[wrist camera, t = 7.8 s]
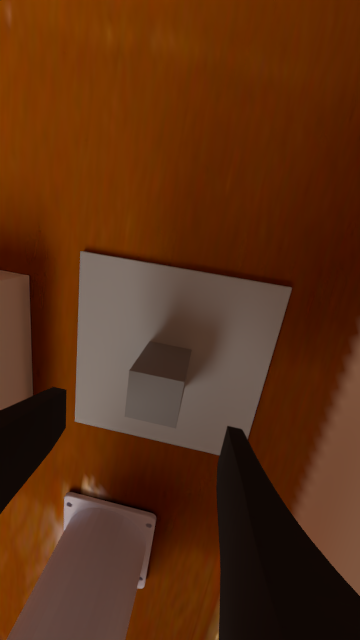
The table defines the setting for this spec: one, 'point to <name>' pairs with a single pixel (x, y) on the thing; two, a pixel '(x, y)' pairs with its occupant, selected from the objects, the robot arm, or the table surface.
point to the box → (15, 339)
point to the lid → (172, 349)
